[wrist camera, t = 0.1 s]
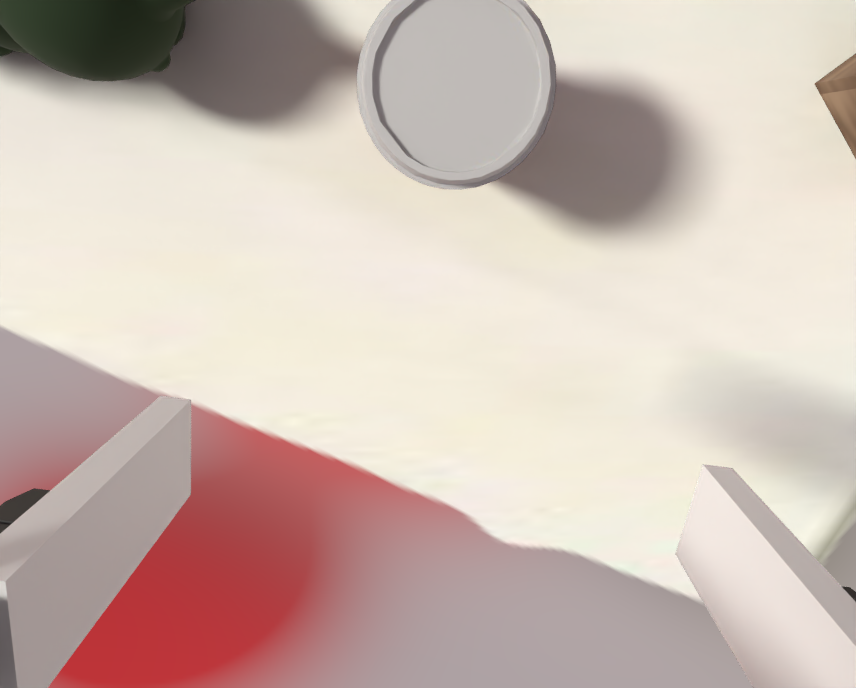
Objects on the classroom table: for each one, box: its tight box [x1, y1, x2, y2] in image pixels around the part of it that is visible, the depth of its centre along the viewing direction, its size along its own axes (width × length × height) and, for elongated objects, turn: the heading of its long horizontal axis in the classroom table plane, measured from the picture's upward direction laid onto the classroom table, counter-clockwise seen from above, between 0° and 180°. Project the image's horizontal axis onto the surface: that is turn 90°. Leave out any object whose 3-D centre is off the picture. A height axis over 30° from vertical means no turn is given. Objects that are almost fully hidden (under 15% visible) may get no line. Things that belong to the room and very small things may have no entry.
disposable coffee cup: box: [357, 0, 556, 189], centre depth 33 cm, size 10×10×12 cm
